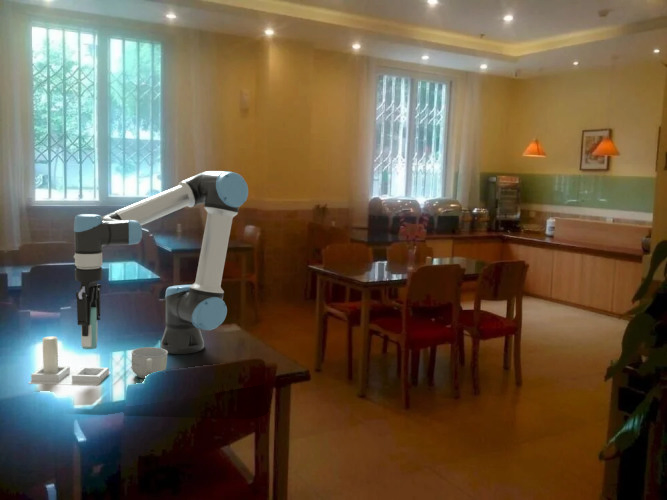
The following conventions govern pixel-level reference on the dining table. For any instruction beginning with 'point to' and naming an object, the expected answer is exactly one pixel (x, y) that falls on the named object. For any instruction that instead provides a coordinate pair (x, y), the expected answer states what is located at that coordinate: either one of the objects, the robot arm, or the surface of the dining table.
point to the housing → (71, 376)
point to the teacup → (148, 360)
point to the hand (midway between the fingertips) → (89, 343)
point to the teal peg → (93, 329)
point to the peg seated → (50, 355)
